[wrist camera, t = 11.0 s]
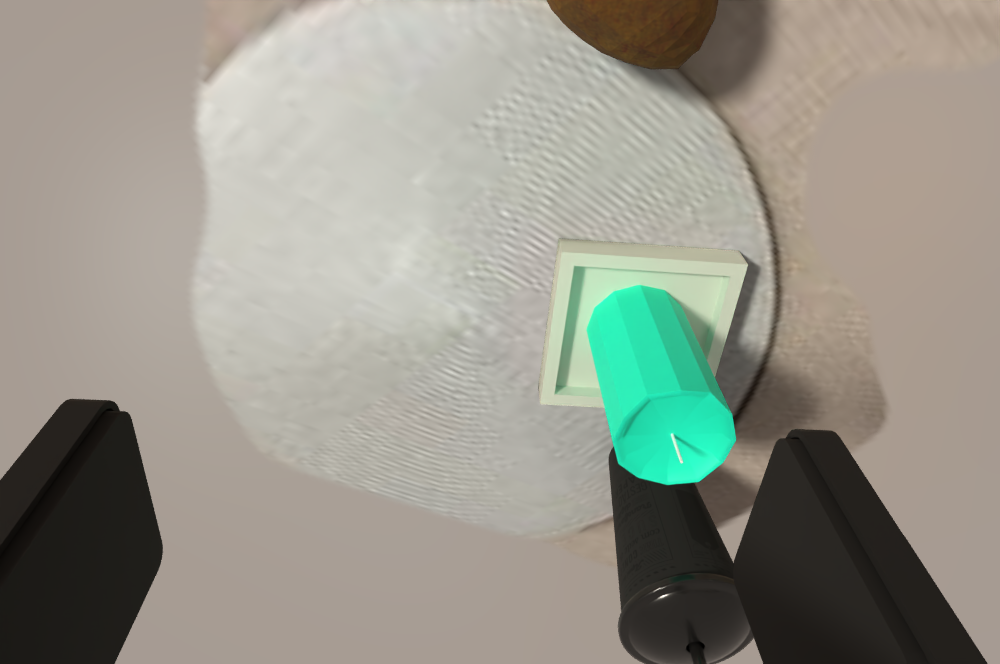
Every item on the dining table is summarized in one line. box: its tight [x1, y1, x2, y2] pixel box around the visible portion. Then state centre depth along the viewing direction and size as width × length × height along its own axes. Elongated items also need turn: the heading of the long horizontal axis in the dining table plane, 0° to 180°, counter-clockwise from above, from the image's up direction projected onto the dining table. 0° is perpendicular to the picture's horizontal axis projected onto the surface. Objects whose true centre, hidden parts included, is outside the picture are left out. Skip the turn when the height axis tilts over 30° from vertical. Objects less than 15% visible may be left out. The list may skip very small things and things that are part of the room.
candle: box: [586, 285, 736, 485], centre depth 39 cm, size 6×6×12 cm
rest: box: [538, 239, 748, 408], centre depth 44 cm, size 11×11×2 cm
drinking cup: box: [609, 447, 754, 664], centre depth 42 cm, size 8×8×20 cm
